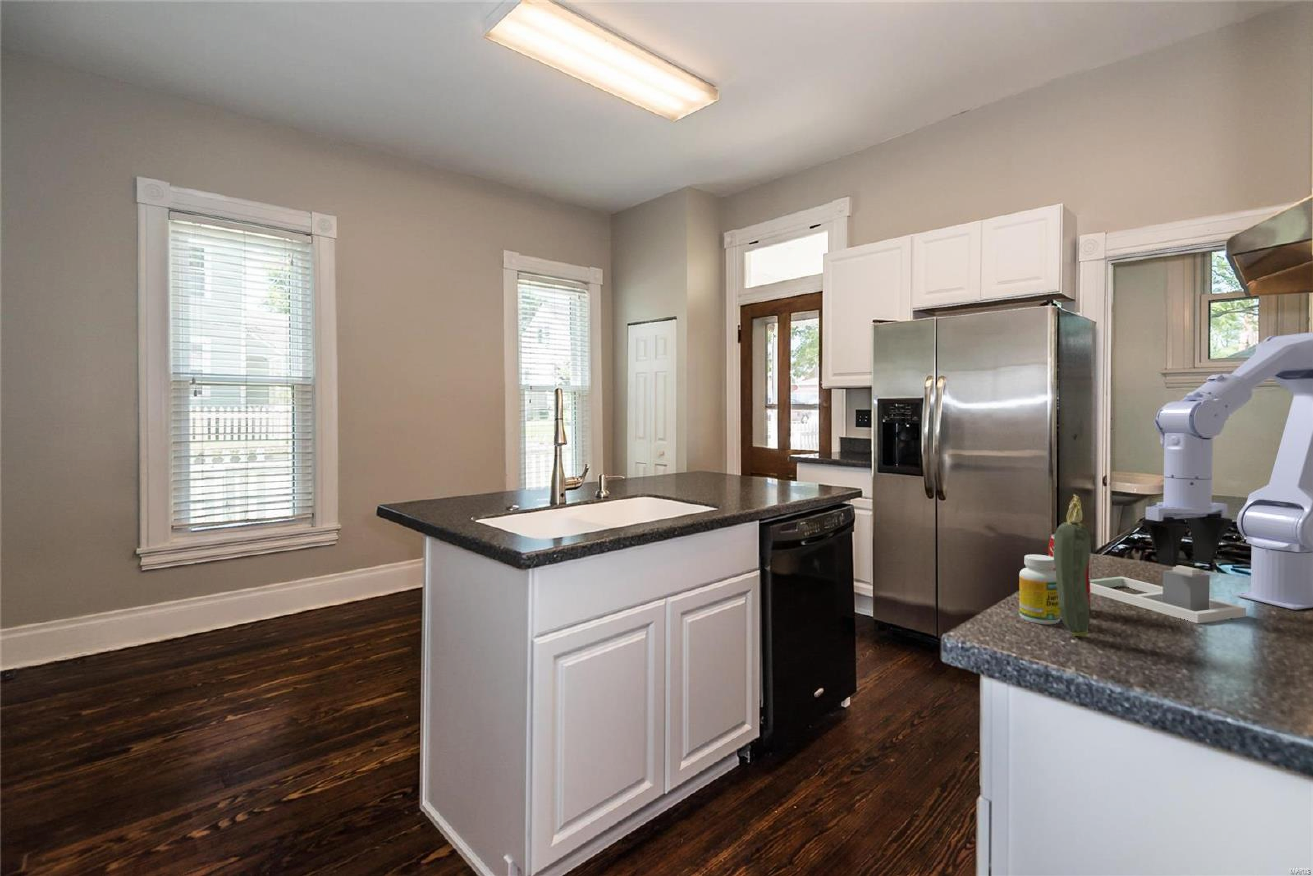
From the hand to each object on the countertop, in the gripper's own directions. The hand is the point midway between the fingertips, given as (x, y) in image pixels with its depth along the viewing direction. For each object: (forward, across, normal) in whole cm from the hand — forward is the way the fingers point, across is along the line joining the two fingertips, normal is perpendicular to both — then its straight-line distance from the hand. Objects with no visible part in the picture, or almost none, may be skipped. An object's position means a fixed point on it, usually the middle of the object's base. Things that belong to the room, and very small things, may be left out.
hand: (1185, 563), depth 96 cm
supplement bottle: (+8, +25, -4) cm, 26 cm away
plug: (+8, 0, 0) cm, 8 cm away
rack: (+7, 0, -4) cm, 9 cm away
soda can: (+8, +17, -6) cm, 19 cm away
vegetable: (+8, +27, +4) cm, 28 cm away
